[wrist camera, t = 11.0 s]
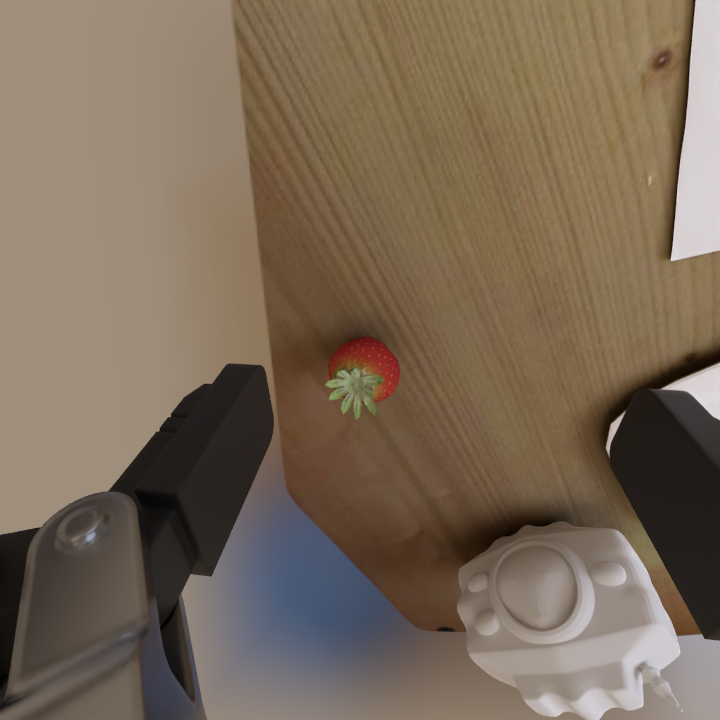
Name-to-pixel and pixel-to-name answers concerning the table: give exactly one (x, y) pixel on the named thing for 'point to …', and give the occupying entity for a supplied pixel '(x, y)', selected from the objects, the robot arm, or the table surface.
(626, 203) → the table surface
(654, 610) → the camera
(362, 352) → the fruit
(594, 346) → the table surface
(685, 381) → the plate
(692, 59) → the paper
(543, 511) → the table surface
